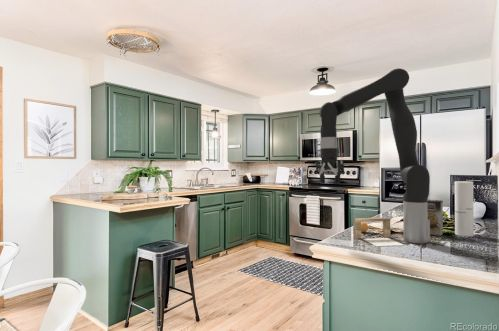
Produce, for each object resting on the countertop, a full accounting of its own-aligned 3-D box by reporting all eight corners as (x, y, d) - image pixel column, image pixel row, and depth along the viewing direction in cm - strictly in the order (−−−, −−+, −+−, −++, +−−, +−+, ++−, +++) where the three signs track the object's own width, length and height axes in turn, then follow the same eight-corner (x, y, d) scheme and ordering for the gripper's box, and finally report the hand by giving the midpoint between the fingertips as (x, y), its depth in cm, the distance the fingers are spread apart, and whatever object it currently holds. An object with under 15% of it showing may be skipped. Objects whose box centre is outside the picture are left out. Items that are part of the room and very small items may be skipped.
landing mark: (388, 238, 136) (388, 238, 136) (404, 245, 124) (404, 245, 124) (362, 239, 135) (362, 238, 135) (376, 246, 123) (376, 246, 123)
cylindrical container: (476, 236, 138) (476, 182, 138) (459, 236, 139) (458, 182, 139) (468, 233, 145) (468, 181, 145) (452, 232, 146) (451, 181, 146)
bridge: (353, 237, 139) (353, 218, 139) (386, 236, 141) (386, 217, 141) (356, 238, 136) (356, 219, 136) (390, 237, 138) (390, 218, 138)
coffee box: (418, 233, 146) (418, 199, 146) (421, 230, 151) (421, 198, 151) (441, 235, 140) (440, 201, 140) (443, 233, 145) (442, 199, 145)
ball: (365, 230, 152) (365, 220, 152) (370, 233, 147) (370, 222, 147) (355, 231, 152) (355, 221, 152) (360, 233, 147) (360, 223, 147)
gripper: (347, 146, 132) (348, 183, 132) (322, 148, 144) (323, 182, 144) (335, 146, 128) (336, 184, 128) (311, 148, 140) (312, 183, 140)
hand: (329, 183), depth 136 cm, fingers open, 8 cm apart
